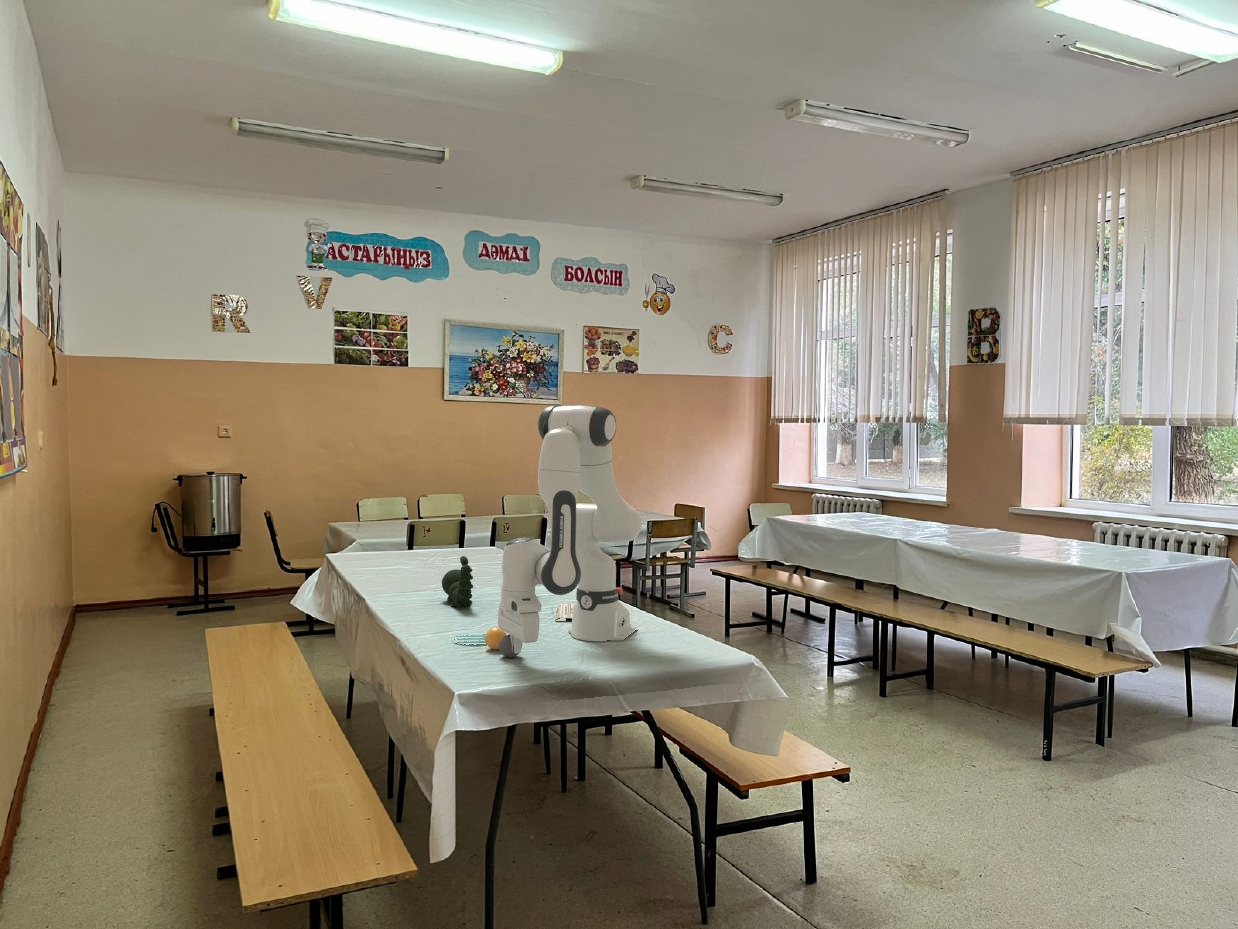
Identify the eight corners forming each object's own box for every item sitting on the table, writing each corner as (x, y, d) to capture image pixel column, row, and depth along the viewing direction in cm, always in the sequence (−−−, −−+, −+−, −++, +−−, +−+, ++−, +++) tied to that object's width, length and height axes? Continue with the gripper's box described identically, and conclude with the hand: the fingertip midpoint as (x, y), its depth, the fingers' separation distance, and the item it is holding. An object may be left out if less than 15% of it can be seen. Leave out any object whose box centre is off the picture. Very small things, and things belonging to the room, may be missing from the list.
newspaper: (551, 609, 284) (552, 601, 284) (587, 613, 285) (587, 605, 285) (549, 624, 262) (550, 616, 261) (587, 628, 262) (588, 620, 262)
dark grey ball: (514, 657, 224) (510, 635, 226) (528, 653, 221) (524, 631, 222) (496, 661, 220) (492, 638, 222) (510, 656, 216) (506, 633, 218)
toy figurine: (479, 615, 277) (463, 594, 300) (481, 559, 275) (465, 542, 298) (451, 617, 274) (437, 595, 296) (453, 560, 271) (438, 543, 294)
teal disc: (472, 631, 248) (472, 630, 248) (510, 638, 241) (510, 637, 241) (441, 641, 236) (441, 640, 236) (480, 648, 229) (480, 648, 229)
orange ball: (493, 645, 233) (494, 624, 233) (511, 648, 230) (511, 626, 230) (480, 650, 228) (480, 628, 227) (498, 653, 225) (498, 631, 224)
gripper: (492, 593, 225) (491, 644, 225) (520, 607, 207) (519, 663, 207) (514, 592, 228) (513, 642, 228) (544, 606, 210) (542, 660, 210)
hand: (516, 652), depth 218 cm, fingers closed
